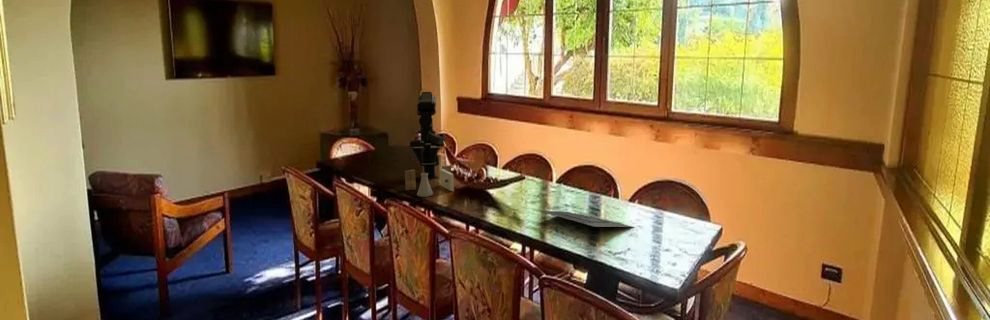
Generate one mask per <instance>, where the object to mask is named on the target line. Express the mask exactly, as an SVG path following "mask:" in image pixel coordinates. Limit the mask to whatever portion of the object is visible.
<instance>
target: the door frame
mask: <svg viewBox="0 0 990 320" xmlns="http://www.w3.org/2000/svg"><path fill="white" fill-rule="evenodd" d="M451 168H452V169H453V165H451V164H449V165H441V169H444V170H446V171H448V172H450V173H452V174H453V171H452V172H451ZM404 180H405V183H404V184H405V191H414V190H417V187H416V186H417V182H416V181H417V180H416V170H415V169H409V170H404Z"/></svg>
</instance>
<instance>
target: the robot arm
mask: <svg viewBox="0 0 990 320" xmlns="http://www.w3.org/2000/svg"><path fill="white" fill-rule="evenodd" d="M432 93H433V92H432V91H422V92H421V95H420V96H419V97H418V103H417V104H416V106H417V107H416V108H417V109H416V110H417V111H416V113H417V114H416V115H417V116H418V117H419V116H420V117H419V120H418V123H419V130H418V132H417V133H418V134H420V139H419V140H410V142H409V143H408V145H409V148H411V150H412V151H413V153H414V154H415V157H416V158H417V160H418V162H419V164H420V167H423V169H422V170H423V173H428V175H427V176H428V180H429V179H436V178H439V177H438V176H437V175H436V167H437V166H439V165H440V159H439V155H438V153H439V151H441V149H442V148H443V147H444V146H445V144H444V142H446V139H447V138H446V134H444V133H440V134H436V131H435V130H434V125H433V116H435V114H436V110H437V109H436V108H437V100H436V96H434V94H432Z"/></svg>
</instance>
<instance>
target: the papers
mask: <svg viewBox="0 0 990 320" xmlns="http://www.w3.org/2000/svg"><path fill="white" fill-rule="evenodd" d="M540 212H541V213H543V214H547V215H551V216H554V217H558V218H559V219H563V220H567V221H570V222H574V223H578V224H581V225H586V226H589V227H595V228H596V227H597V228H600V227H604V228H605V227H607V228H611V227H614V228H617V227H618V228H633V226H632V225H627V224H625V223H621V222H618V221H614V220H608V219H604V218H599V217H596V216H590V215H586V214H585V215H584V214H580V213H574V212H570V211H560V210H559V211H557V210H556V211H555V210H540Z"/></svg>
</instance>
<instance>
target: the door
mask: <svg viewBox="0 0 990 320" xmlns="http://www.w3.org/2000/svg"><path fill="white" fill-rule="evenodd" d="M454 179H455V178H454V173H453V172H452V173H450V172H448V171H446V170H444V169H442V168H440V169H439V181H440V182H439V183H440V184H439V185H440V186H441V187H443V189H444V188H445V189H447V190H448V191H449V192H454V190H455V188H454V187H455V186H454V181H455V180H454Z"/></svg>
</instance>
